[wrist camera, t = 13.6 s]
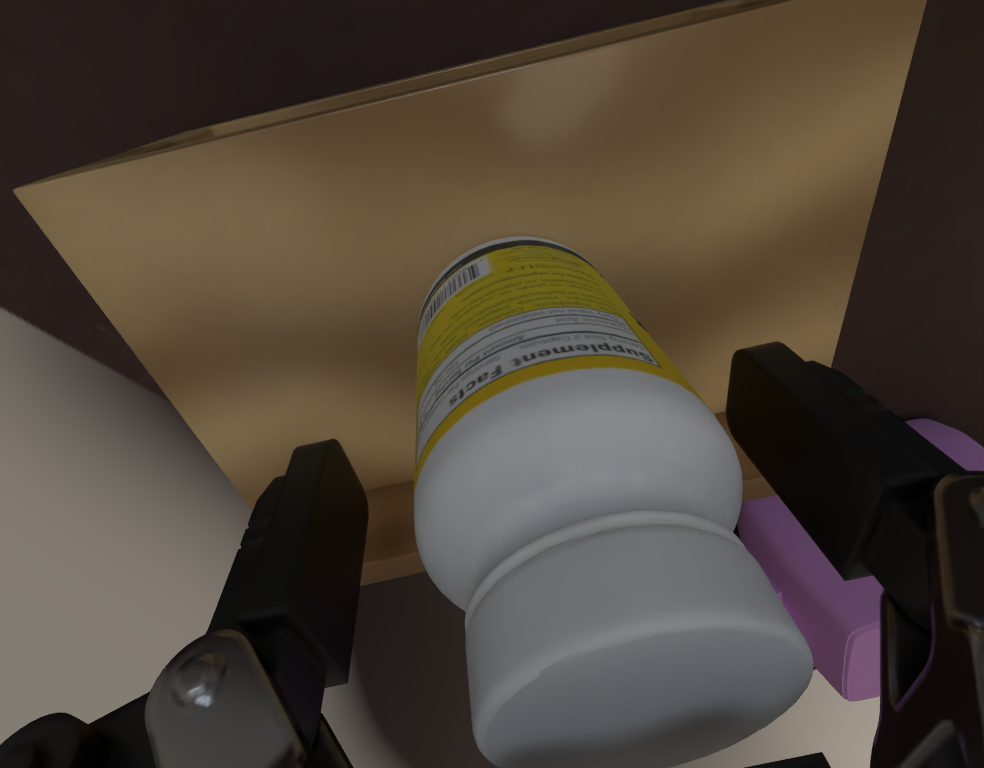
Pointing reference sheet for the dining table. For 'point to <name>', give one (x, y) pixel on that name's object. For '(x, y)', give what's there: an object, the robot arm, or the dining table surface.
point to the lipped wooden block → (492, 223)
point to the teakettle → (833, 580)
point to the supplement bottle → (586, 525)
